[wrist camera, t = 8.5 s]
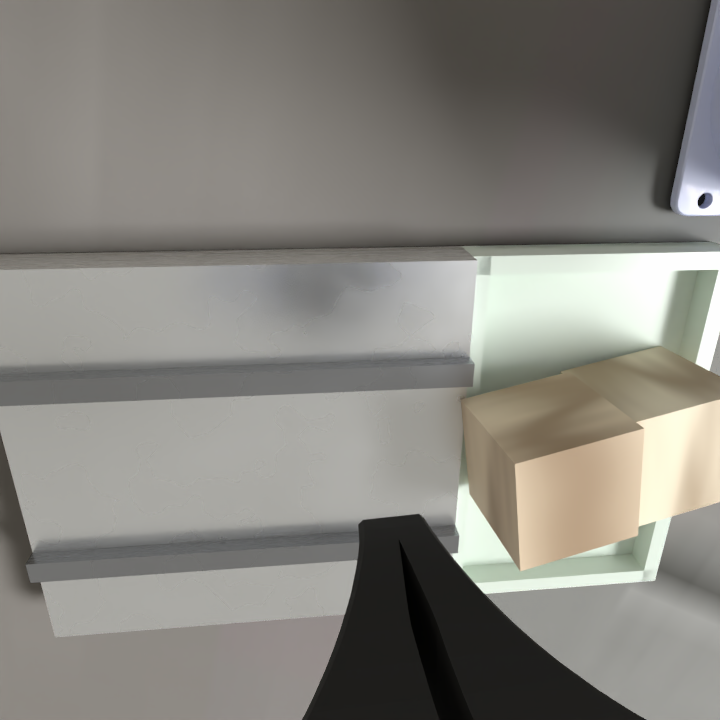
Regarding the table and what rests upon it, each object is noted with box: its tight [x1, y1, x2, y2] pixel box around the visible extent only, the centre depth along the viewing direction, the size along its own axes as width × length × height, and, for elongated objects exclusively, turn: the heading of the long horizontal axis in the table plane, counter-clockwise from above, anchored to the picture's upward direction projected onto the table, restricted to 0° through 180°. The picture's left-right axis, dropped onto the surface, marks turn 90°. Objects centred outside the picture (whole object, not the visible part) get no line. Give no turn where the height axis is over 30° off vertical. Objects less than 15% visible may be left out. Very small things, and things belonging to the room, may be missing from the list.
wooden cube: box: [560, 346, 720, 526], centre depth 21 cm, size 4×4×4 cm
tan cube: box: [461, 372, 644, 571], centre depth 19 cm, size 4×4×4 cm
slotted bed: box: [0, 246, 478, 637], centre depth 21 cm, size 15×14×3 cm
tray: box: [453, 242, 720, 594], centre depth 23 cm, size 9×14×2 cm, turn 0°
